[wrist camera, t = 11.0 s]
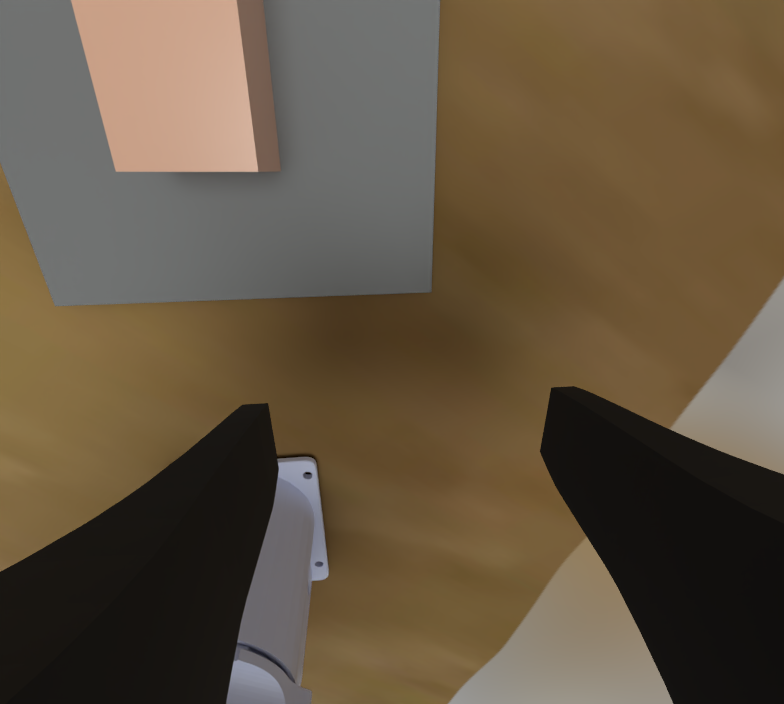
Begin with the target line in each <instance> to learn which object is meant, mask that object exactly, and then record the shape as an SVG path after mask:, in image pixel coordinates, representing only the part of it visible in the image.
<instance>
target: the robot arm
mask: <svg viewBox="0 0 784 704" xmlns="http://www.w3.org/2000/svg"><path fill="white" fill-rule="evenodd" d="M540 453H541V455H542V457H543V460H544V462H545V464H546V467H547V469H548V471H549V473H550V475H551V478H552V480H553V482H554V484H555V486H556V488H557V489H558V491H559V493H560V494H561V496H562V498H563V499H564V501H565V502H566V504H567V506H568V507H569V509H570V511H571V512H572V514H573V515H574V517H575V519H576V520H577V522H578V523H579V525H580V526H581V528H582V530H583V531H584V533H585V534H586V536H587V537H588V539H589V541H590V542H591V544H592V545H593V547H594V549H595V550H596V552H597V553H598V555H599V556H600V558H601V560H602V561H603V563H604V564H605V566H606V568H607V569H608V571H609V573H610V575H611V576H612V578H613V580H614V582H615V583H616V585H617V587H618V589H619V591H620V593H621V595H622V597H623V598H624V601H625V603H626V605H627V607H628V608H629V610H630V613H631V614H632V616H633V618H634V620H635V622H636V624H637V626H638V628H639V630H640V632H641V634H642V637H643V639H644V641H645V643H646V645H647V647H648V649H649V651H650V653H651V656H652V658H653V659H654V662H655V664H656V666H657V668H658V670H659V672H660V675H661V676H662V679H663V681H664V683H665V685H666V687H667V690H668V692H669V694H670V697H671V699H672V701H673V704H784V475H783V474H781V473H778V472H775V471H772V470H769V469H767V468H764V467H761V466H758V465H756V464H753V463H750V462H747V461H745V460H742V459H739V458H736V457H734V456H731V455H729V454H726V453H724V452H721V451H718V450H716V449H714V448H711V447H709V446H706V445H704V444H702V443H699V442H697V441H695V440H692V439H690V438H688V437H685V436H683V435H681V434H678V433H676V432H674V431H672V430H670V429H667V428H665V427H663V426H661V425H659V424H656V423H654V422H652V421H650V420H648V419H646V418H644V417H642V416H639V415H637V414H635V413H633V412H631V411H629V410H627V409H625V408H623V407H621V406H618V405H616V404H614V403H612V402H610V401H608V400H606V399H604V398H601V397H599V396H597V395H595V394H593V393H590V392H588V391H585V390H583V389H580V388H577V387H574V386H572V387H554V388H551V393H550V398H549V404H548V410H547V415H546V421H545V427H544V432H543V438H542V443H541V449H540ZM305 472H310V473H312V474H305ZM328 574H329V566H328V558H327V549H326V540H325V532H324V523H323V514H322V506H321V497H320V488H319V480H318V471H317V463H316V461H315V460H314V459H313V458H311V457H295V458H279V459H277V454H276V448H275V442H274V436H273V430H272V424H271V418H270V412H269V406H268V403H265V404H246V405H242V406H240V407H239V408H238V409H237V410H235V411H234V412H233V413H232V414H231V415H229V416H228V417H227V418H226V419H225V420H224V421H222V422H221V423H220V424H219V425H218V426H217V427H215V428H214V429H213V430H212V431H211V432H210V433H208V434H207V435H206V436H205V437H204V438H202V439H201V440H200V441H199V442H198V443H197V444H195V445H194V446H193V447H192V448H191V449H189V450H188V451H187V452H186V453H185V454H183V455H182V456H181V457H179V458H178V459H177V460H176V461H174V462H173V463H172V464H170V465H169V466H168V467H166V468H165V469H164V470H163V471H161V472H160V473H159V474H157V475H156V476H155V477H153V478H152V479H151V480H150V481H148V482H147V483H146V484H144V485H143V486H141V487H140V488H139V489H137V490H136V491H134V492H133V493H131V494H130V495H129V496H127V497H126V498H124V499H123V500H121V501H120V502H118V503H117V504H115V505H114V506H112V507H111V508H109V509H108V510H106V511H104V512H103V513H101V514H100V515H98V516H97V517H95V518H94V519H92V520H90V521H89V522H87V523H86V524H84V525H82V526H81V527H79V528H77V529H75V530H74V531H72V532H70V533H68V534H67V535H65V536H63V537H62V538H60V539H58V540H56V541H55V542H53V543H51V544H49V545H48V546H46V547H44V548H43V549H41V550H39V551H37V552H36V553H34V554H32V555H30V556H29V557H27V558H25V559H23V560H22V561H20V562H18V563H16V564H14V565H12V566H10V567H9V568H7V569H5V570H3V571H1V572H0V704H311V698H312V691H311V690H309V689H306V688H303V687H300V685H301V681H302V674H303V664H304V654H305V645H306V635H307V625H308V616H309V606H310V596H311V587H312V581H315V580H323V579H325V578H327V577H328Z"/></svg>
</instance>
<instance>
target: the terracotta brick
mask: <svg viewBox="0 0 784 704" xmlns="http://www.w3.org/2000/svg"><path fill="white" fill-rule="evenodd" d="M71 2H72V6H73V10H74V14H75V18H76V21H77V25H78V29H79V33H80V37H81V41H82V44H83V48H84V52H85V56H86V60H87V63H88V67H89V71H90V75H91V79H92V83H93V86H94V90H95V94H96V98H97V102H98V105H99V109H100V113H101V117H102V121H103V125H104V128H105V132H106V136H107V140H108V144H109V148H110V151H111V155H112V159H113V163H114V167H115V170H116V172H275V171H281V167H280V158H279V148H278V139H277V129H276V119H275V110H274V100H273V91H272V81H271V72H270V62H269V52H268V43H267V33H266V24H265V14H264V5H263V0H71Z"/></svg>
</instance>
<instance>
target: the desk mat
mask: <svg viewBox="0 0 784 704" xmlns="http://www.w3.org/2000/svg"><path fill="white" fill-rule="evenodd" d="M263 5H264V14H265V24H266V33H267V43H268V52H269V62H270V72H271V81H272V91H273V100H274V110H275V119H276V129H277V139H278V148H279V158H280V167H281V171H275V172H116V170H115V167H114V163H113V159H112V155H111V151H110V148H109V144H108V140H107V136H106V132H105V128H104V125H103V121H102V117H101V113H100V109H99V105H98V102H97V98H96V94H95V90H94V86H93V83H92V79H91V75H90V71H89V67H88V63H87V60H86V56H85V52H84V48H83V44H82V41H81V37H80V33H79V29H78V25H77V21H76V18H75V14H74V10H73V6H72V2H71V0H0V163H1V166H2V168H3V171H4V173H5V176H6V179H7V181H8V184H9V187H10V189H11V192H12V194H13V197H14V200H15V202H16V205H17V208H18V210H19V213H20V215H21V218H22V221H23V223H24V226H25V228H26V231H27V234H28V236H29V239H30V242H31V244H32V247H33V249H34V252H35V255H36V257H37V260H38V263H39V265H40V268H41V270H42V273H43V276H44V278H45V281H46V283H47V286H48V289H49V291H50V294H51V297H52V299H53V302H54V304H55V306H72V305H99V304H127V303H154V302H182V301H209V300H236V299H264V298H291V297H318V296H346V295H373V294H400V293H428V292H431V287H432V253H433V219H434V185H435V151H436V117H437V83H438V49H439V16H440V0H263Z"/></svg>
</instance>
